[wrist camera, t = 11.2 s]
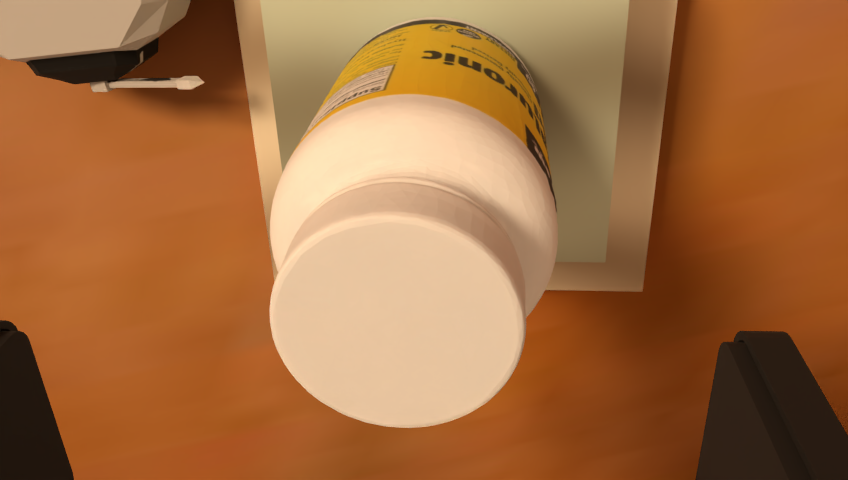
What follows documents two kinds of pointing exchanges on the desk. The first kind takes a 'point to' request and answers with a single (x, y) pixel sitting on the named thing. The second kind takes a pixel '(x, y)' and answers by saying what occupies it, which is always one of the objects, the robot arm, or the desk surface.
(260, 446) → the desk surface
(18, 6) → the robot toy
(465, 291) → the supplement bottle
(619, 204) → the base board
